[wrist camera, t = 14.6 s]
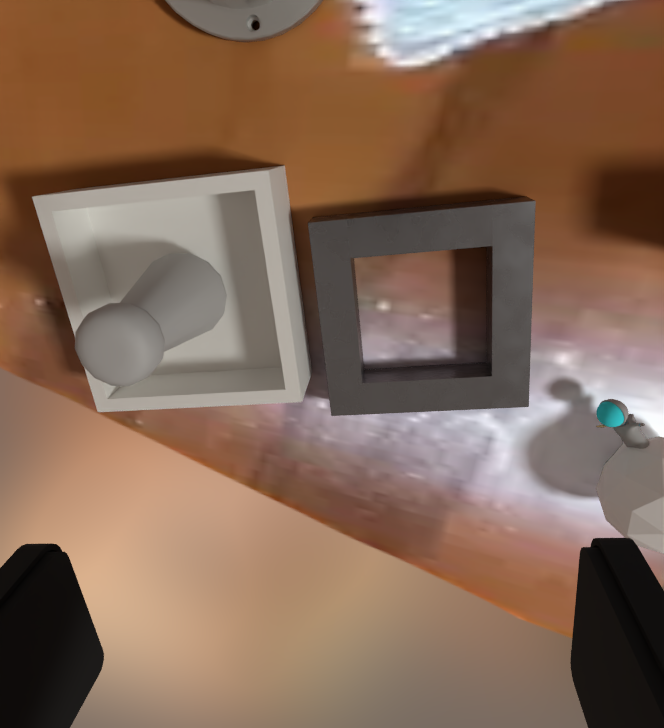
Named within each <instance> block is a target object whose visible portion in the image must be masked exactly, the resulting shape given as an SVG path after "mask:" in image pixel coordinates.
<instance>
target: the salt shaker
mask: <svg viewBox="0 0 664 728" xmlns="http://www.w3.org/2000/svg"><path fill="white" fill-rule="evenodd" d="M226 298H227V294H226V290H225V287H224V284H223V281H222V277H221V275H220V274H219V273H218V272H217V271H216V270H215V269H214V268H213V267H212V266H211V264H210V263H209V262H207V261H205V260H203V259H201V258H199V257H197V256H195V255H193V254H191V253H170V254H167V255H165V256H163V257H161V258H159V259H157V260H155V261H153V262H152V263H151V264H150V265H149V267H148V268H147V269H146V270H145V272H144V273H143V274H142V275H141V277H140V278H139V279H138V280H137V282H136V283H135V284H134V285H133V287H132V288H131V289H130V290H129V292H128V293H127V294H126V295H125V297H124V298H123V299H122V300H121V302H120V303H109V304H106V305H104V306H102V307H100V308H98V309H96V310H94V311H92V312H90V313H88V314H87V315H86V317H85V318H84V319H83V320H82V322H81V324H80V325H79V327H78V329H77V330H76V332H75V350H76V353H77V355H78V357H79V359H80V362H81V364H82V365H83V366H84V367H85V368H86V370H87V371H88V372H89V373H90V374H91V375H92V376H93V377H94V378H96V379H98V380H100V381H102V382H105V383H107V384H109V385H111V386H130V385H133V384H135V383H137V382H139V381H141V380H143V379H145V378H147V377H149V376H150V375H151V374H152V372H153V371H154V370H155V369H156V367H157V366H158V365H159V363H160V362H161V360H162V359H163V355H164V352H165V351H167V350H169V349H171V348H174V347H176V346H178V345H180V344H182V343H184V342H186V341H188V340H190V339H193V338H195V337H197V336H199V335H201V334H203V333H205V332H207V331H210V330H212V329H213V328H214V327H215V325H216V324H217V323H218V321H219V320H220V319H221V317H222V316H223V314H224V311H225V304H226Z"/></svg>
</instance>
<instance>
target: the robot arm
mask: <svg viewBox="0 0 664 728" xmlns="http://www.w3.org/2000/svg"><path fill="white" fill-rule="evenodd" d="M165 1H166V2H167V3H168V4H169V5H170V7H171V8H172V9H173V10H174V11H175V12H176V13H177V14H179V15H180V16H181V17H183V18H184V19H185V20H187V21H188V22H189V23H191V24H192V25H193V26H195V27H197V28H199V29H200V30H202V31H204V32H206V33H208V34H211V35H214V36H217V37H219V38H222V39H225V40H231V41H239V42H253V41H264V40H267V39H270V38H273V37H276V36H279V35H282V34H284V33H286V32H288V31H289V30H291V29H293V28H294V27H296V26H298V25H300V24H301V23H302V22H303V21H304V20H305V19H306V18H307V17H309V16H310V15H311V14H312V13H313V12H314V11H315V10H316V9H317V8H318V6H319V5H320V4H321V2H322V1H323V0H165ZM256 21H258V22H259V23H260V28H259V29H258V30H254V29H253V24H254V22H256ZM103 660H104V653H103V649H102V646H101V643H100V641H99V638H98V636H97V633H96V630H95V627H94V624H93V622H92V619H91V616H90V614H89V611H88V608H87V605H86V603H85V600H84V597H83V595H82V592H81V589H80V587H79V584H78V581H77V578H76V575H75V573H74V570H73V567H72V564H71V562H70V559H69V557H68V555H67V553H65V552H62V550H61V548H60V547H59V546H58V545H57V544H25V545H23V546H21V547H20V548H19V549H17V550H16V551H15V552H14V554H13V555H12V556H11V557H10V558H9V559H8V560H7V561H6V563H4V565H3V566H2V567H1V568H0V728H70V726H71V725H72V723H73V721H74V719H75V717H76V716H77V714H78V712H79V710H80V708H81V706H82V705H83V703H84V701H85V699H86V697H87V695H88V693H89V692H90V690H91V688H92V686H93V684H94V682H95V681H96V679H97V677H98V675H99V673H100V671H101V669H102V665H103ZM571 671H572V677H573V682H574V685H575V688H576V691H577V695H578V698H579V701H580V704H581V707H582V710H583V713H584V716H585V719H586V722H587V725H588V728H664V591H663V589H662V587H661V585H660V584H659V582H658V580H657V579H656V577H655V575H654V574H653V572H652V570H651V568H650V567H649V565H648V563H647V562H646V560H645V558H644V557H643V555H642V553H641V551H640V550H639V548H638V546H637V545H636V543H635V542H634V541H633V540H632V539H631V538H595V539H593V540H592V543H591V547H583V548H581V551H580V559H579V570H578V582H577V593H576V605H575V616H574V627H573V639H572V650H571Z"/></svg>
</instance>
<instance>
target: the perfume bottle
mask: <svg viewBox="0 0 664 728" xmlns="http://www.w3.org/2000/svg"><path fill="white" fill-rule="evenodd" d="M597 418H598V420H599V421H600V422H601V423H602V424H603V425H599V426H596V427H606V426H608V427H613V428H614V430H615V431H616V432H617V434H618V435H619V436H620V437H621V439H622V441H623V442H624V443H623V444H622V446H621V447H620V448H619V449H618V450H617V451H616V452H615V454H614V455H613V456H612V457H611V458H610V459H609V460H608V461H607V463H606V464H605V465H604V467H603V470H602V473H601V476H600V479H599V482H598V484H597V487H596V490H597V494H598V497H599V500H600V503H601V506H602V509H603V512H604V515H605V518H606V520H607V521H608V522H609V523H610V524H611V525H612V526H613V527H614V528H615V529H616V530H618V531H619V532H620V533H621V534H622V535H623V536H624V537H625V538H631V539H632V540H633V541H634V542H635V543H636V545H637V546H640V547H643V548H646V549H650V550H653V551H656V552H660V553H663V554H664V438H663V437H655V438H649V439H646V437H645V436H644V434H643V432H642V431H641V429H640V427H641V426H644V425H645V424H644V423H636V421H635V418H634V415H633V414H629V415H628V409H627V407H626V406H625V405H624V404H623V403H622V402H620V401H618V400H614V399H608V400H604V401H602V402H601V403H600V405H599V407H598V408H597ZM639 426H640V427H639Z"/></svg>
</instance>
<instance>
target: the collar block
mask: <svg viewBox="0 0 664 728" xmlns="http://www.w3.org/2000/svg"><path fill="white" fill-rule="evenodd" d="M308 228H309V236H310V244H311V252H312V260H313V268H314V277H315V285H316V293H317V301H318V309H319V317H320V326H321V334H322V342H323V350H324V358H325V366H326V375H327V383H328V391H329V399H330V407H331V415H332V416H339V415H361V414H383V413H404V412H426V411H448V410H470V409H491V408H513V407H529V379H530V348H531V318H532V288H533V258H534V228H535V200H533V199H530V198H528V197H516V198H505V199H495V200H485V201H475V202H465V203H454V204H444V205H434V206H424V207H414V208H403V209H393V210H383V211H373V212H363V213H352V214H342V215H332V216H322V217H313V218H312V219H311V220H310V221H309V222H308ZM475 247H486V362H484V363H467V364H450V365H432V366H415V367H397V368H380V369H364V362H363V352H362V341H361V330H360V319H359V309H358V298H357V287H356V277H355V266H354V258H359V257H371V256H382V255H394V254H406V253H417V252H429V251H440V250H452V249H463V248H475Z"/></svg>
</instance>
